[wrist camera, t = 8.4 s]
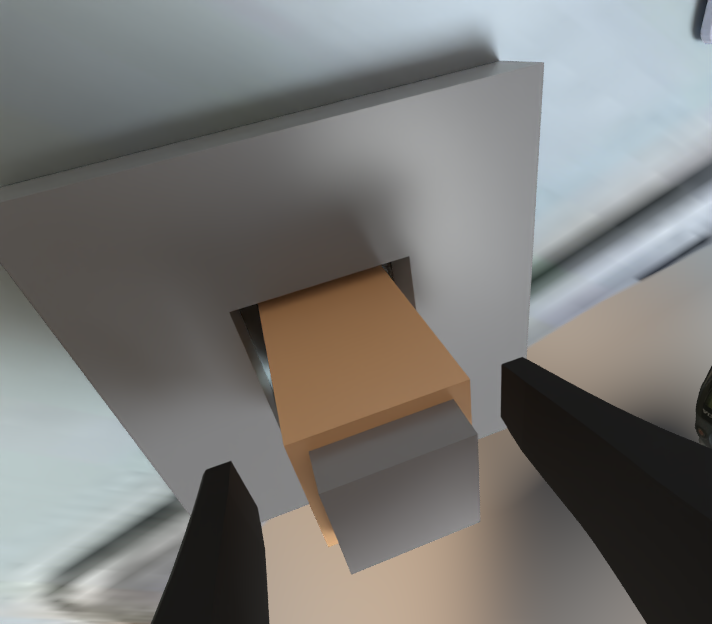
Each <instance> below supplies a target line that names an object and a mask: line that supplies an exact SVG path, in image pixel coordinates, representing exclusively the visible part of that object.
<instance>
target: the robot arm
mask: <svg viewBox="0 0 712 624" xmlns="http://www.w3.org/2000/svg"><path fill="white" fill-rule="evenodd" d="M701 39H702V41H703V42H704V43H705V44H712V0H708V2H707V6H706V10H705V15H704V19H703V23H702V28H701ZM501 418H502V420H503V421H504V423H505V425H506V426H507V428H508V430H509V431H510V433H511V435H512V436H513V438H514V439H515V441H516V443H517V444H518V446H519V447H520V449H521V450H522V452H523V453H524V454H525V456H526V457H527V458H528V459H529V461H530V462H531V463H532V464H533V466H534V467H535V468H536V469H537V471H538V472H539V473H540V475H541V476H542V477H543V478H544V480H545V481H546V482H547V483H548V485H549V486H550V487H551V488H552V489H553V491H554V492H555V493H556V494H557V496H558V497H559V498H560V499H561V501H562V502H563V503H564V504H565V506H566V507H567V508H568V509H569V511H570V512H571V513H572V514H573V516H574V517H575V518H576V519H577V521H578V522H579V523H580V524H581V526H582V527H583V528H584V530H585V531H586V532H587V534H588V535H589V536H590V538H591V539H592V541H593V542H594V543H595V545H596V546H597V548H598V549H599V551H600V552H601V554H602V555H603V557H604V558H605V560H606V561H607V563H608V564H609V566H610V567H611V569H612V570H613V572H614V573H615V575H616V576H617V578H618V579H619V581H620V582H621V584H622V586H623V587H624V588H625V590H626V592H627V593H628V595H629V596H630V598H631V600H632V601H633V603H634V604H635V606H636V607H637V609H638V611H639V612H640V614H641V615H642V617H643V618H644V620H645V621H646V623H647V624H712V449H711V448H709V447H706V446H704V445H701V444H699V443H696V442H694V441H691V440H688V439H686V438H684V437H681V436H679V435H676V434H674V433H672V432H669V431H667V430H665V429H662V428H660V427H658V426H656V425H653V424H651V423H649V422H647V421H644V420H643V419H640V418H638V417H636V416H634V415H632V414H630V413H627V412H626V411H624V410H621V409H619V408H617V407H615V406H613V405H611V404H609V403H607V402H605V401H603V400H602V399H600V398H598V397H596V396H594V395H592V394H590V393H588V392H586V391H584V390H582V389H580V388H579V387H577V386H575V385H573V384H571V383H569V382H567V381H566V380H564V379H562V378H560V377H558V376H556V375H555V374H553V373H551V372H549V371H547V370H546V369H543V368H542V367H540V366H538V365H537V364H535V363H533V362H531V361H529V360H527V359H525V358H524V357H520V358H517V359H515V360H512V361H509V362H506V363H503V364H501ZM151 624H269V610H268V592H267V574H266V558H265V547H264V541H263V534H262V528H261V522H260V517H259V511H258V507H257V505H256V503H255V502H254V500H253V498H252V496H251V495H250V493H249V491H248V489H247V488H246V486H245V484H244V482H243V481H242V479H241V477H240V475H239V474H238V472H237V470H236V468H235V467H234V465H233V463H232V461H229V462H226V463H223V464H220V465H217V466H215V467H212V468H209V469H206V470H205V472H204V474H203V476H202V480H201V483H200V487H199V490H198V494H197V497H196V501H195V504H194V507H193V510H192V514H191V517H190V520H189V523H188V526H187V529H186V532H185V535H184V538H183V541H182V544H181V547H180V549H179V552H178V555H177V558H176V561H175V564H174V566H173V569H172V572H171V575H170V577H169V580H168V582H167V585H166V587H165V590H164V592H163V595H162V597H161V600H160V602H159V605H158V607H157V610H156V612H155V615H154V617H153V620H152V622H151Z"/></svg>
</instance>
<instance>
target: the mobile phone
mask: <svg viewBox="0 0 712 624" xmlns="http://www.w3.org/2000/svg"><path fill="white" fill-rule="evenodd" d="M695 429H696V432H697V434H698V436H699V443H700V444H701V445H704V446H707V447H709V448H711V449H712V366H711V368H710V370H709V372H708V374H707V377H706V378H705V380H704V382H703V384H702V386H701V388H700V392H699V396H698V400H697V404H696V423H695Z"/></svg>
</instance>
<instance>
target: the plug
mask: <svg viewBox="0 0 712 624" xmlns="http://www.w3.org/2000/svg"><path fill="white" fill-rule="evenodd" d="M258 307H259V313H260V318H261V324H262V329H263V335H264V340H265V346H266V351H267V357H268V362H269V368H270V373H271V379H272V384H273V390H274V395H275V401H276V406H277V412H278V417H279V423H280V428H281V434H282V439H283V445H284V448H285V450H286V452H287V455H288V457H289V459H290V461H291V464H292V466H293V468H294V470H295V473H296V475H297V477H298V479H299V482H300V484H301V486H302V489H303V491H304V493H305V495H306V498H307V500H308V502H309V504H310V507H311V509H312V511H313V513H314V516H315V518H316V520H317V522H318V525H319V527H320V529H321V531H322V533H323V536H324V538H325V541H326V543H327V545H328V547H330V546H333V545H335V544H338V543H339V545H340V547H341V550H342V552H343V554H344V557H345V559H346V562H347V565H348V567H349V569H350V572H351V574H354V573H356V572H359V571H361V570H364V569H366V568H369V567H371V566H374V565H376V564H378V563H381V562H383V561H386V560H388V559H391V558H393V557H395V556H398V555H400V554H402V553H405V552H408V551H410V550H413V549H415V548H417V547H420V546H422V545H425V544H427V543H430V542H432V541H435V540H437V539H439V538H442V537H444V536H447V535H449V534H451V533H454V532H456V531H459V530H461V529H463V528H466V527H469V526H471V525H474V524H476V523H478V522H480V497H479V496H480V495H479V462H478V434H477V432H476V431H475V429H474V428H473V426H472V415H471V391H470V378H469V377H468V376H467V375H466V373H465V372H464V371H463V370H462V368H461V367H460V366H459V364H458V363H457V362H456V361H455V359H454V358H453V357H452V355H451V354H450V353H449V352H448V350H447V349H446V348H445V347H444V345H443V344H442V343H441V341H440V340H439V339H438V338H437V336H436V335H435V334H434V332H433V331H432V330H431V329H430V327H429V326H428V325H427V324H426V322H425V321H424V320H423V318H422V317H421V316H420V315H419V313H418V312H417V311H416V309H415V308H414V307H413V306H412V304H411V303H410V302H409V301H408V299H407V298H406V297H405V295H404V294H403V293H402V292H401V290H400V289H399V288H398V287H397V285H396V284H395V283H394V281H393V280H392V279H391V278H390V276H389V275H388V274H387V272H386V271H385V270H384V269H383V267H382V266H381V265H379V266H376V267H372V268H369V269H366V270H363V271H360V272H356V273H353V274H350V275H347V276H344V277H340V278H337V279H334V280H331V281H328V282H324V283H321V284H318V285H315V286H311V287H308V288H305V289H302V290H299V291H295V292H292V293H289V294H286V295H283V296H279V297H276V298H273V299H270V300H267V301H263V302H260V303H258Z"/></svg>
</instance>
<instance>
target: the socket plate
mask: <svg viewBox="0 0 712 624" xmlns="http://www.w3.org/2000/svg"><path fill="white" fill-rule="evenodd" d="M543 72H544V62H519V61H498V62H494V63H490V64H486V65H482V66H478V67H474V68H470V69H466V70H462V71H458V72H454V73H450V74H446V75H442V76H438V77H435V78H431V79H427V80H423V81H419V82H415V83H411V84H407V85H403V86H399V87H395V88H391V89H387V90H383V91H379V92H375V93H371V94H367V95H363V96H359V97H355V98H352V99H348V100H344V101H340V102H336V103H332V104H328V105H324V106H320V107H316V108H312V109H308V110H304V111H300V112H296V113H292V114H288V115H284V116H280V117H276V118H272V119H268V120H265V121H261V122H257V123H253V124H249V125H245V126H241V127H237V128H233V129H229V130H225V131H221V132H217V133H213V134H209V135H205V136H201V137H197V138H193V139H189V140H185V141H181V142H178V143H174V144H170V145H166V146H162V147H158V148H154V149H150V150H146V151H142V152H138V153H134V154H130V155H126V156H122V157H118V158H114V159H110V160H106V161H102V162H98V163H95V164H91V165H87V166H83V167H79V168H75V169H71V170H67V171H63V172H59V173H55V174H51V175H47V176H43V177H39V178H35V179H31V180H27V181H23V182H19V183H15V184H11V185H8V186H4V187H0V263H1V264H2V266H3V267H4V268H5V270H6V271H7V272H8V274H9V275H10V276H11V278H12V279H13V280H14V282H15V283H16V284H17V286H18V287H19V288H20V290H21V291H22V292H23V294H24V295H25V296H26V298H27V299H28V300H29V302H30V303H31V304H32V306H33V307H34V308H35V310H36V311H37V312H38V314H39V315H40V316H41V318H42V319H43V320H44V322H45V323H46V324H47V326H48V327H49V328H50V330H51V331H52V332H53V334H54V335H55V336H56V338H57V339H58V340H59V341H60V343H61V344H62V345H63V347H64V348H65V349H66V351H67V352H68V353H69V355H70V356H71V357H72V359H73V360H74V361H75V363H76V364H77V365H78V367H79V368H80V369H81V371H82V372H83V373H84V375H85V376H86V377H87V379H88V380H89V381H90V383H91V384H92V385H93V387H94V388H95V389H96V391H97V392H98V393H99V395H100V396H101V397H102V399H103V400H104V401H105V403H106V404H107V405H108V407H109V408H110V409H111V411H112V412H113V413H114V415H115V416H116V417H117V419H118V420H119V421H120V423H121V424H122V425H123V427H124V428H125V429H126V431H127V432H128V433H129V435H130V436H131V437H132V439H133V440H134V441H135V443H136V444H137V445H138V447H139V448H140V449H141V451H142V452H143V453H144V455H145V456H146V457H147V459H148V460H149V461H150V463H151V464H152V465H153V467H154V468H155V469H156V471H157V472H158V473H159V475H160V476H161V477H162V479H163V480H164V481H165V483H166V484H167V485H168V487H169V488H170V489H171V491H172V492H173V493H174V495H175V496H176V497H177V499H178V500H179V501H180V503H181V504H182V505H183V507H184V508H185V509H186V511H187V512H188V513H189V515H190V516H191V514H192V510H193V507H194V504H195V501H196V497H197V494H198V490H199V487H200V483H201V480H202V476H203V474H204V472H205V470H206V469H209V468H212V467H215V466H217V465H220V464H223V463H226V462H229V461H232V463H233V465H234V467H235V468H236V470H237V472H238V474H239V475H240V477H241V479H242V481H243V482H244V484H245V486H246V488H247V489H248V491H249V493H250V495H251V496H252V498H253V500H254V502H255V503H256V505H257V507H258V511H259V517H260V522H264V521H266V520H269V519H271V518H274V517H277V516H279V515H282V514H284V513H287V512H290V511H292V510H295V509H298V508H300V507H302V506H305V505H308V504H309V502H308V500H307V498H306V495H305V493H304V491H303V489H302V486H301V484H300V482H299V479H298V477H297V475H296V473H295V470H294V468H293V466H292V464H291V461H290V459H289V457H288V455H287V452H286V450H285V448H284V445H283V439H282V434H281V428H280V423H279V417H278V412H277V406H276V401H275V395H274V392H273V390H272V388H271V385H270V383H269V380H268V378H267V376H266V373H265V371H264V368H263V366H262V364H261V361H260V359H259V357H258V354H257V352H256V349H255V347H254V345H253V342H252V340H251V337H250V335H249V333H248V330H247V328H246V325H245V323H244V321H243V318H242V316H241V313H240V311H239V309H241V308H244V307H247V306H251V305H254V304H257V303H260V302H263V301H267V300H270V299H273V298H276V297H279V296H283V295H286V294H289V293H292V292H295V291H299V290H302V289H305V288H308V287H311V286H315V285H318V284H321V283H324V282H328V281H331V280H334V279H337V278H340V277H344V276H347V275H350V274H353V273H356V272H360V271H363V270H366V269H369V268H372V267H376V266H379V265H382V264H385V263H388V262H391V264H392V270H393V277H394V283H395V284H396V285H397V287H398V288H399V289H400V290H401V292H402V293H403V294H404V295H405V297H406V298H407V299H408V301H409V302H410V303H411V304H412V306H413V307H414V308H415V309H416V311H417V312H418V313H419V315H420V316H421V317H422V318H423V320H424V321H425V322H426V324H427V325H428V326H429V327H430V329H431V330H432V331H433V332H434V334H435V335H436V336H437V338H438V339H439V340H440V341H441V343H442V344H443V345H444V347H445V348H446V349H447V350H448V352H449V353H450V354H451V355H452V357H453V358H454V359H455V361H456V362H457V363H458V364H459V366H460V367H461V368H462V370H463V371H464V372H465V373H466V375H467V376H468V377H469V378H470V391H471V415H472V426H473V428H474V429H475V431H476V432H477V434H478V439H480V438H483V437H485V436H488V435H491V434H493V433H496V432H498V431H501V430H504V429H506V428H507V426H506V425H505V423H504V421H503V420H502V418H501V364H503V363H506V362H509V361H512V360H515V359H517V358H520V357H524V358H525V359H526V356H527V340H528V323H529V307H530V290H531V273H532V256H533V239H534V223H535V206H536V189H537V172H538V156H539V139H540V122H541V105H542V88H543Z"/></svg>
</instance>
